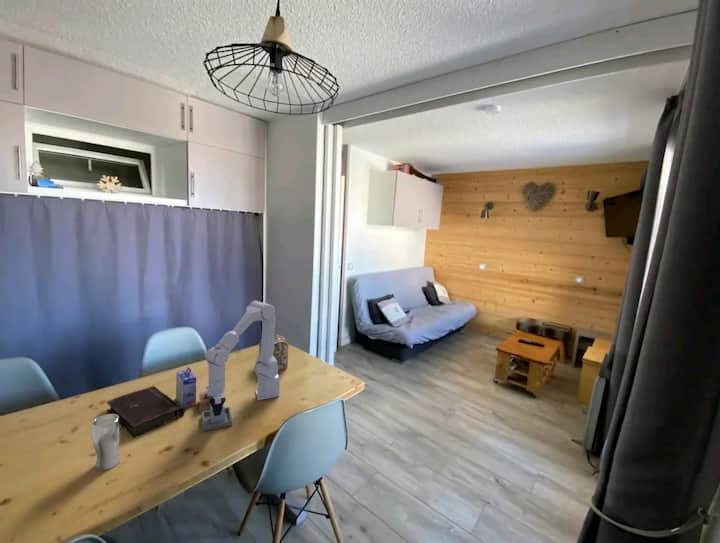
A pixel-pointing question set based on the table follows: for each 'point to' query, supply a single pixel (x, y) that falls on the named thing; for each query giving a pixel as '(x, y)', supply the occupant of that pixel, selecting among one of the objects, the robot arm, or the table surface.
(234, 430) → the table surface
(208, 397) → the cylinder
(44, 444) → the table surface
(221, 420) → the block
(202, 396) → the bore block
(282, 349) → the decorative jar
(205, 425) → the tray
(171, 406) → the diary
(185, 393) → the ink cartridge box
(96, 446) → the beer glass
